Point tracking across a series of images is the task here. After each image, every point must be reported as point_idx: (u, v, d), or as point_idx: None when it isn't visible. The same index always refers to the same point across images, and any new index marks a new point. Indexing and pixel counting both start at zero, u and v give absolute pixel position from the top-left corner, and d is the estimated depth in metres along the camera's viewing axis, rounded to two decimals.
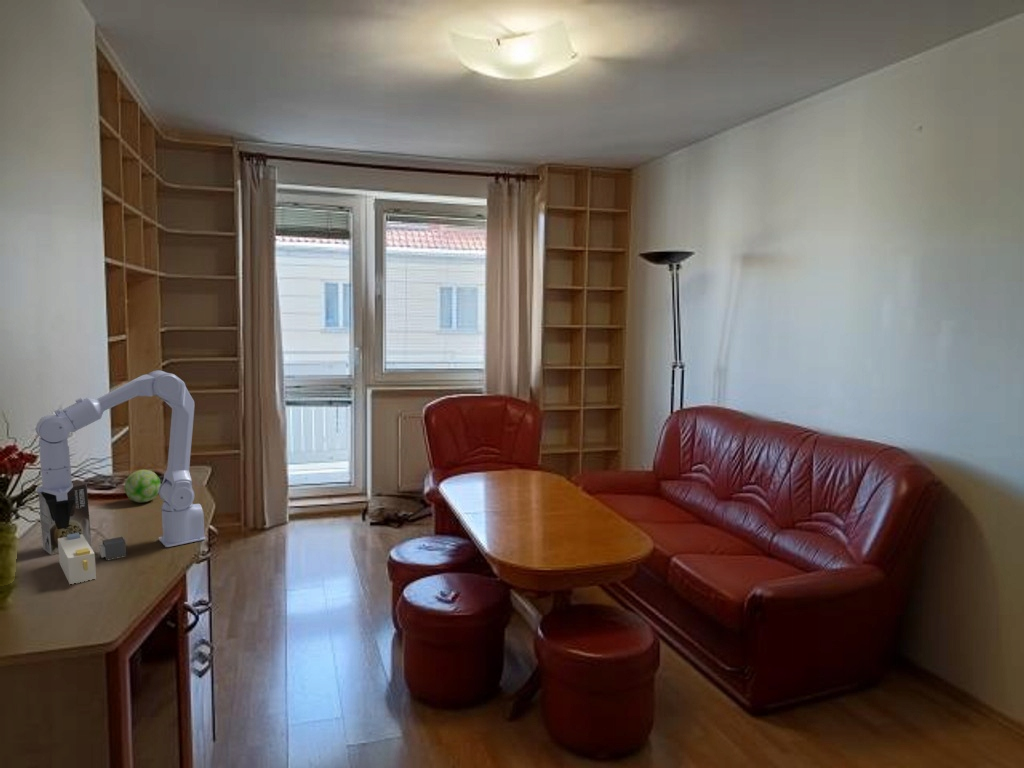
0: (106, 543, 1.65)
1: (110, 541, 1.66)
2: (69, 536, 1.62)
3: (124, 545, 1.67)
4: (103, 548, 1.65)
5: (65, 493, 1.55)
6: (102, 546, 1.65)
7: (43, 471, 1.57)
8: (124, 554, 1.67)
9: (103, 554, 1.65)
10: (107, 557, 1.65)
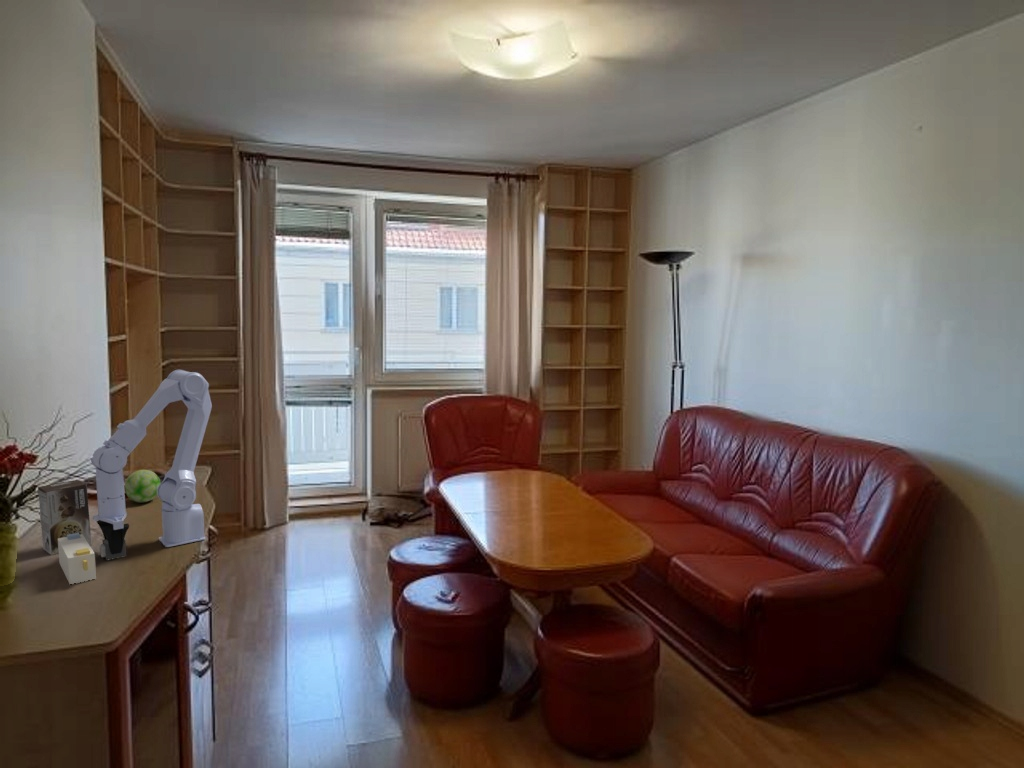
0: (106, 543, 1.65)
1: None
2: (69, 536, 1.62)
3: (124, 545, 1.67)
4: (103, 548, 1.65)
5: (121, 522, 1.61)
6: (102, 546, 1.65)
7: (100, 500, 1.63)
8: (124, 554, 1.67)
9: (103, 554, 1.65)
10: (107, 557, 1.65)
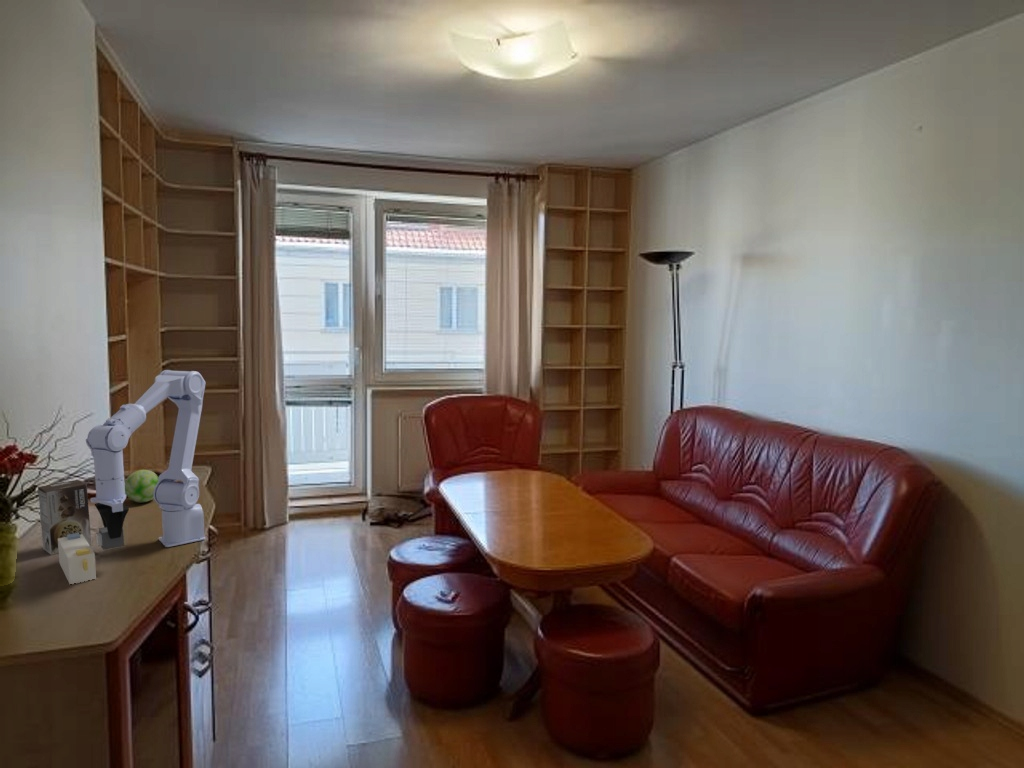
0: (103, 531, 1.57)
1: None
2: (69, 536, 1.62)
3: (122, 533, 1.58)
4: (99, 536, 1.56)
5: (121, 504, 1.53)
6: (98, 535, 1.57)
7: (98, 481, 1.55)
8: (122, 543, 1.59)
9: (100, 543, 1.56)
10: (104, 546, 1.56)
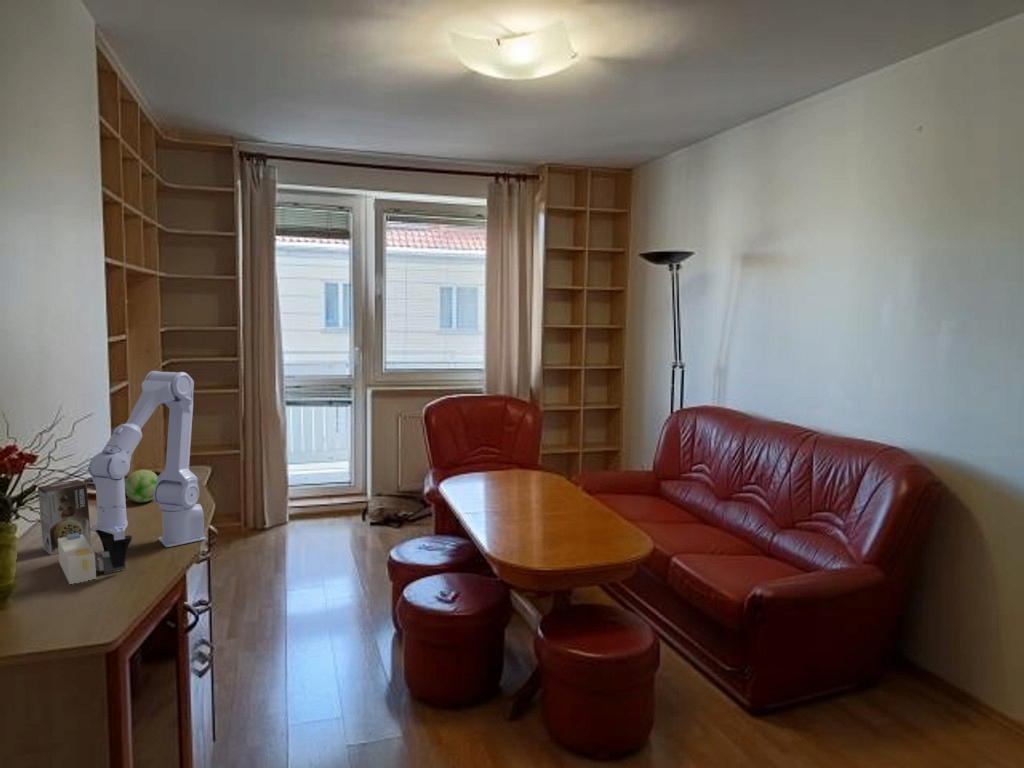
0: (104, 556, 1.57)
1: None
2: (69, 536, 1.62)
3: None
4: (101, 561, 1.57)
5: (122, 532, 1.54)
6: (100, 559, 1.57)
7: (99, 509, 1.56)
8: (123, 567, 1.59)
9: (101, 567, 1.57)
10: (105, 570, 1.57)
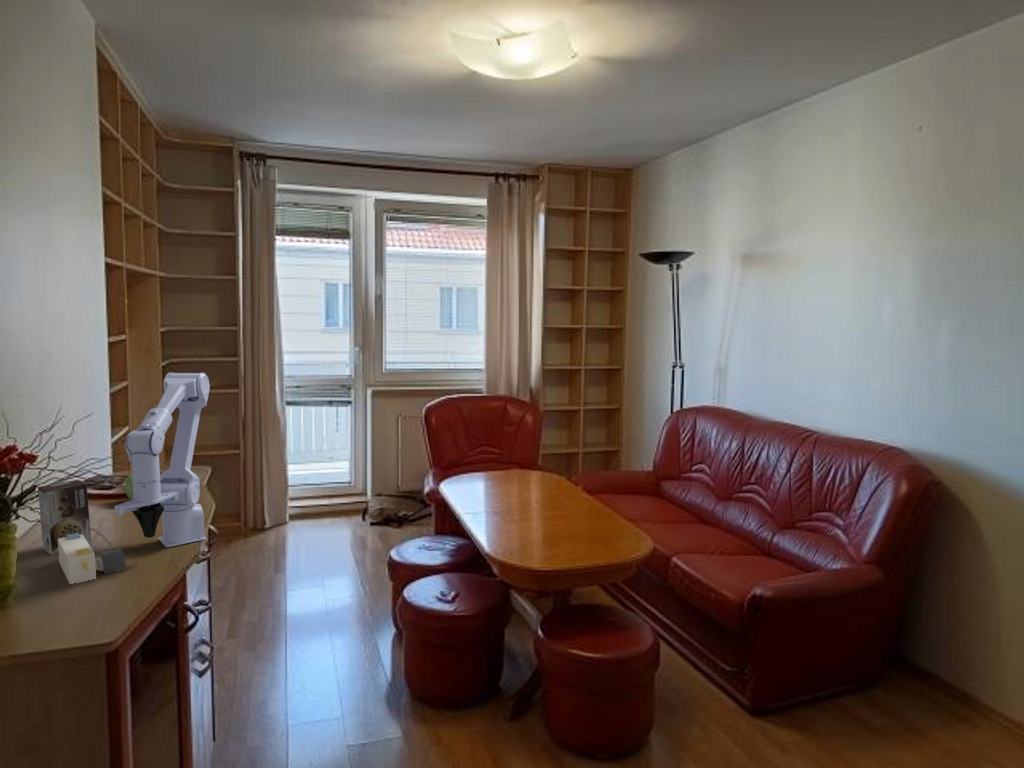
0: (104, 556, 1.57)
1: (109, 554, 1.58)
2: (69, 536, 1.62)
3: (123, 558, 1.59)
4: (101, 561, 1.57)
5: (119, 508, 1.56)
6: (100, 559, 1.57)
7: None
8: (123, 567, 1.59)
9: (101, 567, 1.57)
10: (105, 571, 1.57)
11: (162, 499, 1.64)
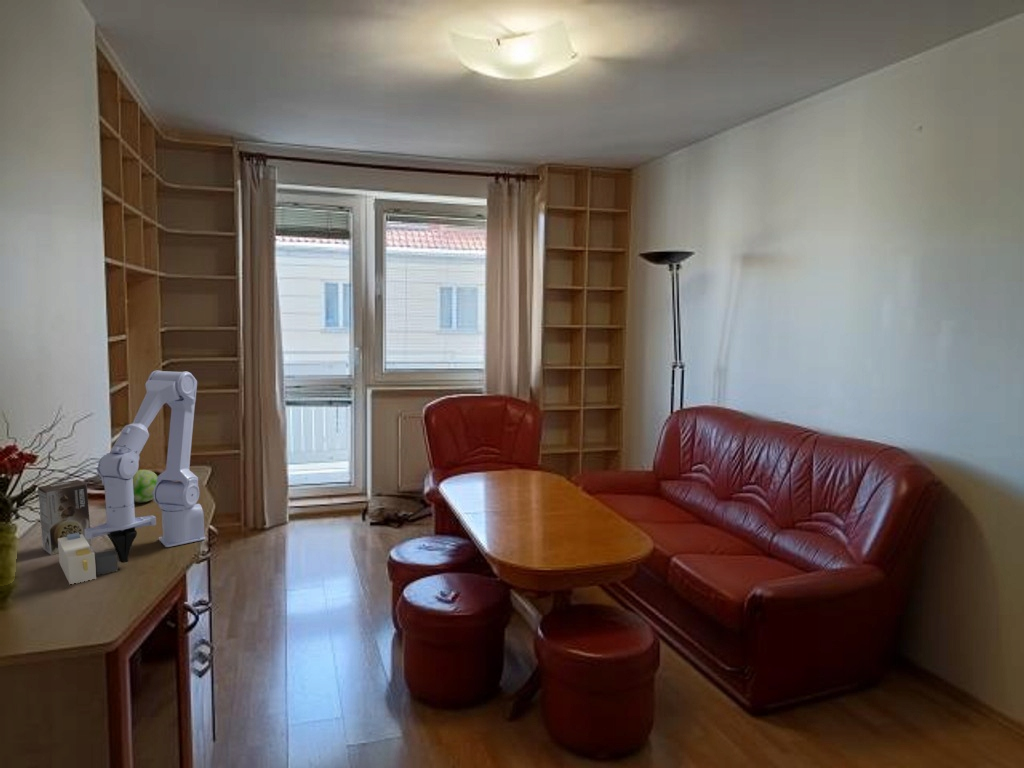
0: (97, 556, 1.57)
1: (101, 555, 1.58)
2: (69, 536, 1.62)
3: (116, 558, 1.58)
4: None
5: (86, 532, 1.54)
6: None
7: None
8: (116, 568, 1.58)
9: None
10: (98, 571, 1.56)
11: (134, 524, 1.60)
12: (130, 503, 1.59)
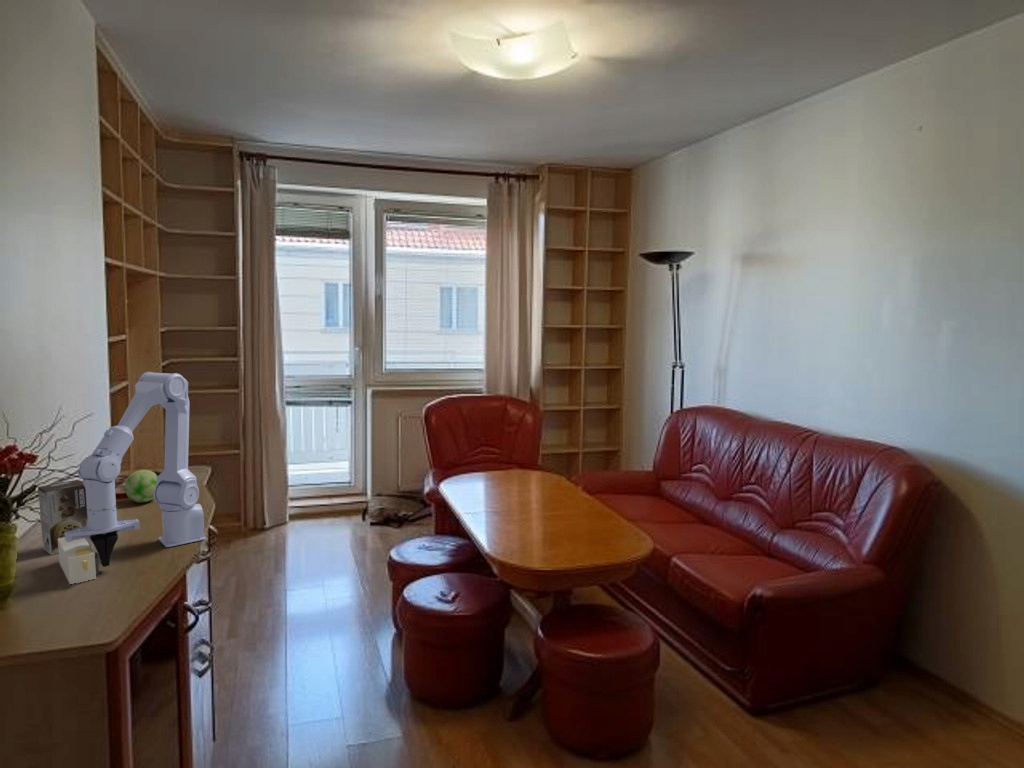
0: None
1: None
2: None
3: (96, 562, 1.56)
4: None
5: (66, 535, 1.52)
6: None
7: None
8: (96, 572, 1.56)
9: None
10: None
11: (115, 528, 1.57)
12: (111, 506, 1.56)
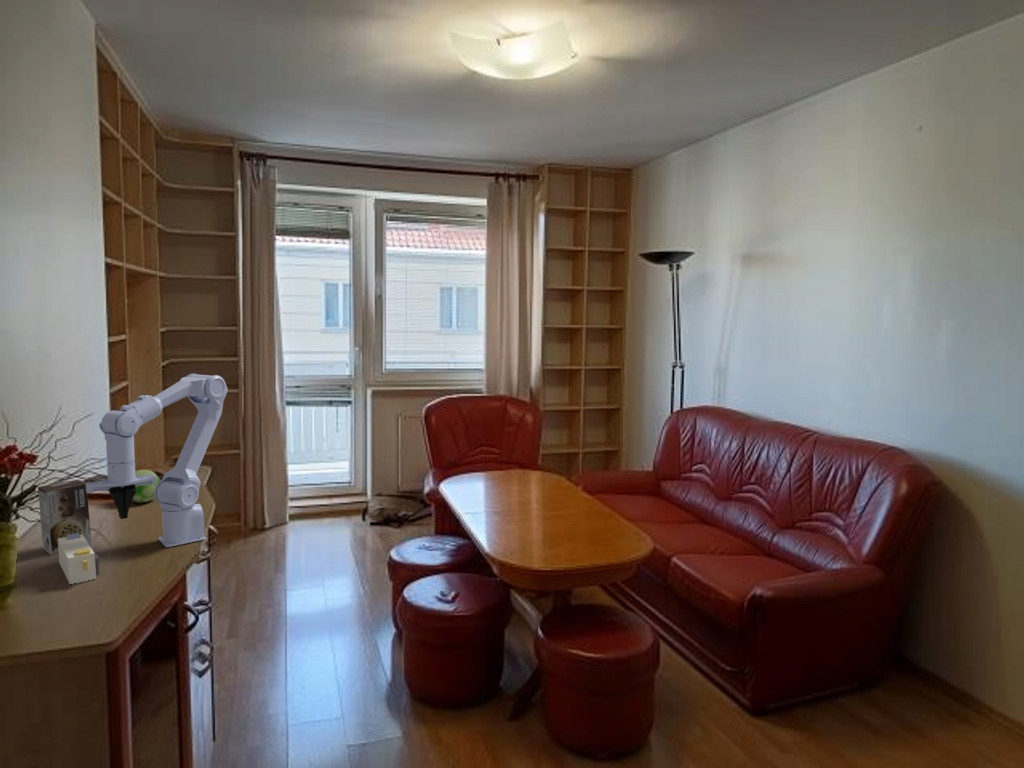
0: None
1: None
2: (69, 536, 1.62)
3: (97, 563, 1.56)
4: None
5: (86, 486, 1.58)
6: None
7: None
8: (97, 572, 1.56)
9: None
10: None
11: (134, 481, 1.63)
12: (129, 460, 1.62)
